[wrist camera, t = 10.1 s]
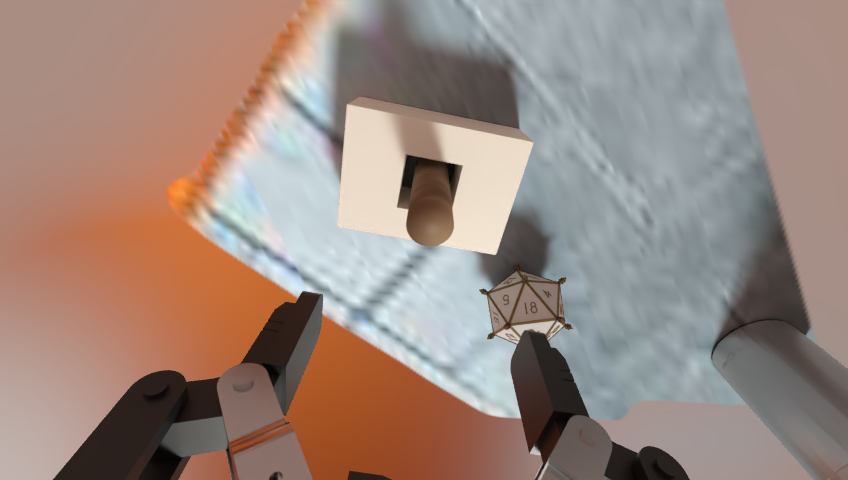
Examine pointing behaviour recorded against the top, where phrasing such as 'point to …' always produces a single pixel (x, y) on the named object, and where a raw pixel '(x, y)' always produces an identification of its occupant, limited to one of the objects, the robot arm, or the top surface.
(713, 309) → the top surface
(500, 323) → the game die
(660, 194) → the top surface
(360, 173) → the hole block
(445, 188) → the peg
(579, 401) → the robot arm
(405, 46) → the top surface
